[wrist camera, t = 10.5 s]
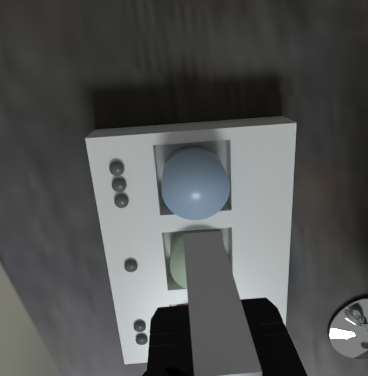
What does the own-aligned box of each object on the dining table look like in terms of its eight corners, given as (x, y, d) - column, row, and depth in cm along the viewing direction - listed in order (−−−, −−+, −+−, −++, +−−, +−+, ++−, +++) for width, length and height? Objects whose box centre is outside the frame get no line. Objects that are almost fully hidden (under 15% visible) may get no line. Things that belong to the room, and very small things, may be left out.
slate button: (159, 147, 23) (158, 158, 21) (222, 143, 23) (229, 153, 21) (165, 205, 25) (164, 222, 22) (224, 201, 25) (230, 217, 22)
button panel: (95, 129, 25) (84, 138, 22) (282, 116, 25) (297, 123, 22) (128, 337, 32) (124, 366, 29) (274, 326, 32) (285, 353, 29)
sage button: (168, 225, 27) (167, 243, 24) (223, 221, 27) (228, 238, 24) (172, 271, 28) (172, 293, 26) (224, 267, 28) (229, 289, 26)
